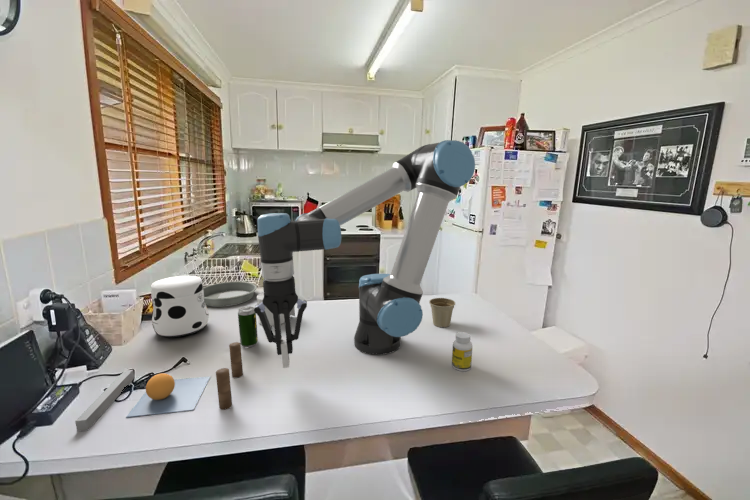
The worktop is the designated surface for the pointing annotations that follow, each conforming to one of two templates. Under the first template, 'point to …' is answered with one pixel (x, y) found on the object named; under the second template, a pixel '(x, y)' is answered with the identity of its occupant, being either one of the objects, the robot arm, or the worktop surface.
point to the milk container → (178, 306)
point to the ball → (160, 386)
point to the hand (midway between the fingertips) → (286, 364)
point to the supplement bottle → (462, 352)
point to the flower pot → (442, 311)
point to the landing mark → (173, 398)
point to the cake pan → (216, 289)
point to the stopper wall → (104, 401)
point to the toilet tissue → (269, 314)
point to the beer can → (247, 326)
